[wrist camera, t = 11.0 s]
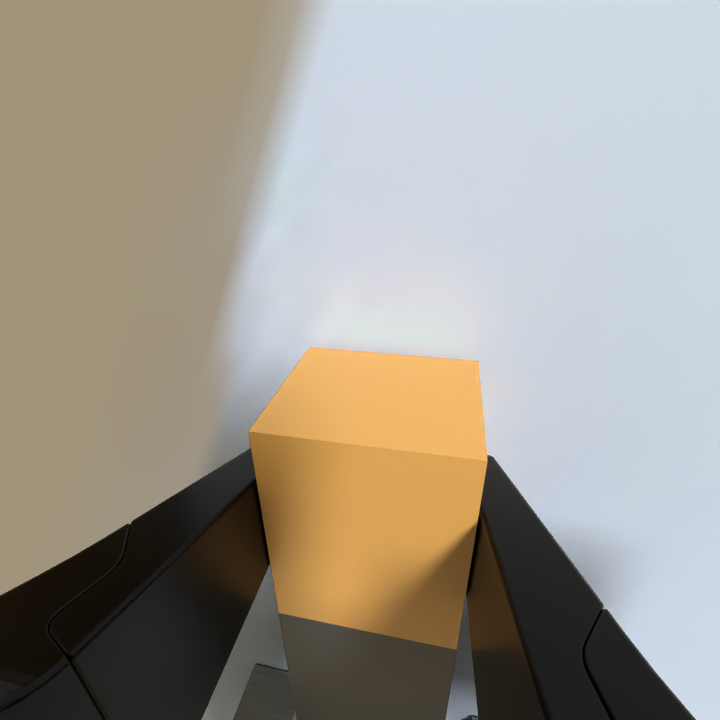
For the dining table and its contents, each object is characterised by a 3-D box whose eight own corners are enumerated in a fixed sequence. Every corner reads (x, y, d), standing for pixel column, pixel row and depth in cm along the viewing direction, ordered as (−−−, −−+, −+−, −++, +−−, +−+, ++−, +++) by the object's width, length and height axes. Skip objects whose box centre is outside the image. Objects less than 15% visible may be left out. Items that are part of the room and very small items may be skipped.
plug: (431, 714, 15) (426, 836, 12) (335, 690, 15) (310, 802, 13) (478, 361, 8) (487, 461, 6) (309, 347, 9) (247, 431, 6)
